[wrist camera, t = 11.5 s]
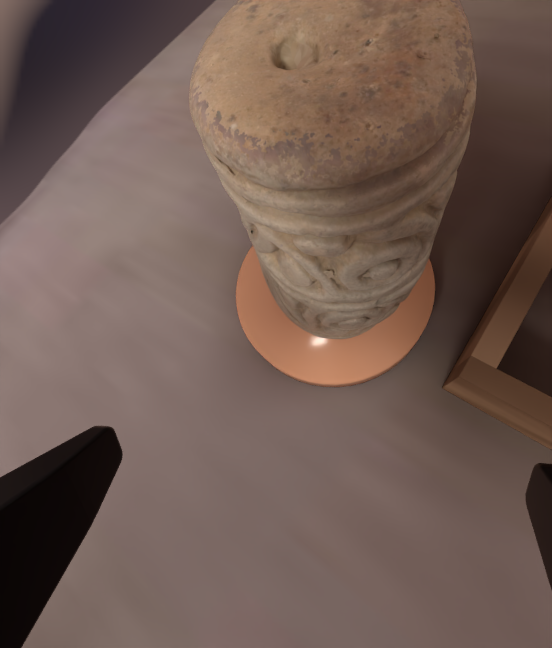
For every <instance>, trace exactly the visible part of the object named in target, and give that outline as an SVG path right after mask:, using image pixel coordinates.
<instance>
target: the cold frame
mask: <svg viewBox="0 0 552 648" xmlns="http://www.w3.org/2000/svg"><path fill="white" fill-rule="evenodd" d="M551 268H552V197H551V198H550V200H549V202H548V204H547V205H546V207H545V209H544V211H543V212H542V214H541V216H540V218H539V219H538V221H537V223H536V225H535V226H534V228H533V230H532V232H531V233H530V235H529V237H528V239H527V240H526V242H525V244H524V245H523V247H522V249H521V251H520V252H519V254H518V256H517V258H516V259H515V261H514V263H513V265H512V266H511V268H510V270H509V272H508V273H507V275H506V277H505V279H504V280H503V282H502V284H501V286H500V287H499V289H498V291H497V293H496V294H495V296H494V298H493V300H492V301H491V303H490V305H489V307H488V308H487V310H486V312H485V314H484V315H483V317H482V319H481V321H480V322H479V324H478V326H477V328H476V329H475V331H474V333H473V335H472V336H471V338H470V340H469V342H468V343H467V345H466V347H465V349H464V350H463V352H462V354H461V356H460V357H459V359H458V361H457V363H456V364H455V366H454V368H453V369H452V371H451V373H450V375H449V376H448V378H447V380H446V382H445V383H444V385H443V387H442V388H443V389H445V390H446V391H448V392H450V393H452V394H453V395H455V396H457V397H459V398H461V399H462V400H464V401H466V402H468V403H469V404H471V405H473V406H475V407H476V408H478V409H480V410H482V411H484V412H485V413H487V414H489V415H491V416H492V417H494V418H496V419H498V420H500V421H501V422H503V423H505V424H507V425H508V426H510V427H512V428H514V429H515V430H517V431H519V432H521V433H523V434H524V435H526V436H528V437H530V438H531V439H533V440H535V441H537V442H539V443H540V444H542V445H544V446H546V447H547V448H549V449H551V450H552V397H550V396H548V395H546V394H544V393H543V392H541V391H539V390H537V389H535V388H533V387H531V386H529V385H527V384H525V383H523V382H521V381H519V380H517V379H515V378H513V377H512V376H510V375H508V374H506V373H504V372H502V371H500V370H498V369H496V368H497V367H498V365H499V363H500V361H501V359H502V358H503V356H504V354H505V352H506V350H507V348H508V347H509V345H510V343H511V341H512V339H513V338H514V336H515V334H516V332H517V330H518V328H519V327H520V325H521V323H522V321H523V319H524V317H525V316H526V314H527V312H528V310H529V308H530V307H531V305H532V303H533V301H534V299H535V297H536V296H537V294H538V292H539V290H540V288H541V287H542V285H543V283H544V281H545V279H546V277H547V276H548V274H549V272H550V270H551Z"/></svg>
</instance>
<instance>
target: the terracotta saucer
mask: <svg viewBox="0 0 552 648" xmlns="http://www.w3.org/2000/svg"><path fill="white" fill-rule="evenodd" d="M434 297H435V280H434V273H433V269H432V265H431V261H430V259H428V262H427V264H426V266H425V269H424V271H423V273H422V275H421V276H420V278H419V280H418V281H417V283H416V284H415V286H414V287H413V289H412V290H411V292H410V294H409V296H408V297H407V299H405V300H404V301H402V302H401V303H400V305H399V307H398V308H397V310H396V311H395V312H394V313H393V314H392V315H390V316H389V317H388V318H386V319H385V320H383V321H382V322H380V323H378V324H376V325H375V326H374V327H372V328H371V329H370V330H368V331H366V332H364V333H362V334H360V335H358V336H355V337H352V338H348V339H327V338H321V337H317V336H315V335H313V334H311V333H308V332H306V331H304V330H303V329H301V328H300V327H298V326H297V325H296V324H294V323H293V322H292V321H291V320H290V319H289V318H288V317H287V316H286V315H285V314H284V313H283V311H282V310H281V309H280V307H279V306H278V304H277V303H276V301H275V299H274V298H273V296H272V294H271V292H270V290H269V288H268V285H267V283H266V281H265V278H264V276H263V273H262V270H261V266H260V263H259V260H258V257H257V254H256V252H255V249H254V247H253V246H252V247H251V249H250V250H249V252H248V253H247V255H246V257H245V259H244V261H243V264H242V266H241V269H240V272H239V276H238V280H237V288H236V305H237V311H238V316H239V319H240V322H241V325H242V328H243V330H244V332H245V334H246V336H247V338H248V339H249V341H250V342H251V344H252V345H253V346H254V348H255V349H256V350H257V351H258V352H259V353H260V354H261V355H262V356H263V357H264V358H265V359H266V360H267V361H268V362H269V363H270V364H271V365H272V366H274V367H275V368H276V369H277V370H279V371H280V372H282V373H284V374H285V375H287V376H289V377H291V378H293V379H295V380H298V381H300V382H303V383H307V384H310V385H315V386H322V387H344V386H352V385H356V384H360V383H364V382H367V381H369V380H372V379H375V378H377V377H379V376H380V375H382V374H384V373H386V372H388V371H389V370H390V369H392V368H393V367H395V366H396V365H397V364H398V363H399V362H401V361H402V360H403V359H404V358H405V357H406V356H407V355H408V353H409V352H410V351H411V349H412V348H413V347H414V346H415V344H416V342H417V341H418V339H419V337H420V336H421V334H422V332H423V330H424V329H425V327H426V325H427V323H428V320H429V318H430V315H431V312H432V308H433V303H434Z"/></svg>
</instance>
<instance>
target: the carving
mask: <svg viewBox="0 0 552 648" xmlns="http://www.w3.org/2000/svg"><path fill="white" fill-rule="evenodd" d="M476 90H477V76H476V68H475V61H474V55H473V42H472V36H471V33H470V29H469V24H468V21H467V18H466V15H465V13H464V11H463V8H462V6H461V3H460V1H459V0H239V1H238V2H237V3H236V4H235V5H234V6H233V7H232V8H231V9H230V10H229V11H228V13H227V14H226V15H225V16H224V17H223V18H222V20H221V21H220V22H219V23H218V24H217V26H216V27H215V28H214V29H213V31H212V32H211V34H210V35H209V37H208V38H207V40H206V42H205V44H204V46H203V48H202V50H201V52H200V54H199V56H198V59H197V61H196V63H195V66H194V69H193V72H192V77H191V83H190V92H189V106H190V112H191V116H192V119H193V122H194V125H195V127H196V129H197V131H198V133H199V134H200V136H201V138H202V142H203V145H204V148H205V151H206V153H207V155H208V157H209V159H210V161H211V163H212V164H213V166H214V168H215V169H216V171H217V173H218V175H219V178H220V180H221V183H222V185H223V186H224V188H225V190H226V192H227V193H228V195H229V196H230V197H231V198H232V200H233V201H234V202H235V204H236V205H237V207H238V210H239V212H240V215H241V220H242V223H243V225H244V227H245V228H246V229H247V231H248V235H249V238H250V240H251V242H252V245H253V247H254V249H255V252H256V254H257V257H258V260H259V263H260V266H261V270H262V273H263V276H264V278H265V281H266V283H267V285H268V288H269V290H270V292H271V294H272V296H273V298H274V299H275V301H276V303H277V304H278V306H279V307H280V309H281V310H282V311H283V313H284V314H285V315H286V316H287V317H288V318H289V319H290V320H291V321H292V322H293V323H294V324H296V325H297V326H298V327H300V328H301V329H303V330H304V331H306V332H308V333H311V334H313V335H315V336H317V337H321V338H327V339H348V338H352V337H355V336H358V335H360V334H362V333H364V332H366V331H368V330H370V329H371V328H372V327H374V326H375V325H376V324H378V323H380V322H382V321H383V320H385V319H386V318H388V317H389V316H390V315H392V314H393V313H394V312H395V311H396V310H397V308H398V307H399V305H400V303H401V302H402V301H404V300H405V299H407V297H408V296H409V294H410V292H411V290H412V289H413V287H414V286H415V284H416V283H417V281H418V280H419V278H420V276H421V275H422V273H423V271H424V269H425V266H426V264H427V262H428V259H429V256H430V253H431V250H432V246H433V242H434V239H435V236H436V233H437V230H438V228H439V225H440V222H441V219H442V216H443V213H444V210H445V207H446V205H447V203H448V201H449V198H450V196H451V193H452V190H453V187H454V184H455V181H456V177H457V169H458V167H459V165H460V163H461V161H462V158H463V155H464V153H465V151H466V147H467V143H468V140H469V136H470V125H471V121H472V118H473V114H474V109H475V102H476Z"/></svg>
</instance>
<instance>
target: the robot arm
mask: <svg viewBox="0 0 552 648" xmlns="http://www.w3.org/2000/svg"><path fill="white" fill-rule="evenodd" d="M122 455H123V454H122V449H121V446H120V444H119V441H118V438H117V436H116V433H115V431H114V429H113V428H112V427H109V426H94V427H92V428H90V429H88V430H86V431H84V432H82V433H81V434H79V435H77V436H75V437H73V438H72V439H70V440H68V441H66V442H64V443H62V444H61V445H59V446H57V447H55V448H53V449H51V450H50V451H48V452H46V453H44V454H42V455H40V456H39V457H37V458H35V459H33V460H31V461H29V462H28V463H26V464H24V465H22V466H20V467H18V468H17V469H15V470H13V471H11V472H9V473H7V474H6V475H4V476H2V477H0V648H21V647H22V646H23V644H24V642H25V641H26V639H27V637H28V635H29V634H30V632H31V630H32V628H33V627H34V625H35V623H36V621H37V620H38V618H39V616H40V614H41V613H42V611H43V609H44V607H45V606H46V604H47V602H48V600H49V599H50V597H51V595H52V593H53V592H54V590H55V588H56V586H57V585H58V583H59V581H60V579H61V578H62V576H63V574H64V572H65V571H66V569H67V567H68V565H69V564H70V562H71V560H72V559H73V557H74V555H75V553H76V552H77V550H78V548H79V546H80V545H81V543H82V541H83V539H84V538H85V536H86V534H87V532H88V530H89V529H90V527H91V525H92V523H93V521H94V519H95V517H96V515H97V513H98V511H99V509H100V506H101V504H102V502H103V500H104V498H105V496H106V493H107V491H108V489H109V487H110V485H111V483H112V480H113V478H114V476H115V474H116V472H117V470H118V468H119V465H120V463H121V460H122ZM526 505H527V509H528V512H529V516H530V519H531V522H532V526H533V529H534V533H535V536H536V539H537V543H538V546H539V549H540V553H541V556H542V560H543V563H544V566H545V570H546V573H547V577H548V580H549V583H550V586H551V589H552V464H546V463H538V464H536V465H535V466H534V468H533V471H532V474H531V478H530V481H529V484H528V487H527V491H526Z"/></svg>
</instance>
